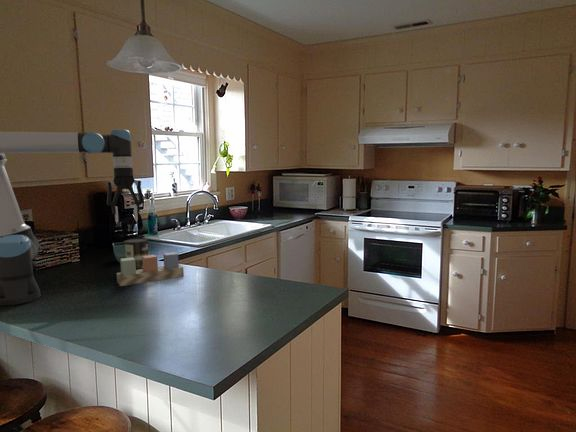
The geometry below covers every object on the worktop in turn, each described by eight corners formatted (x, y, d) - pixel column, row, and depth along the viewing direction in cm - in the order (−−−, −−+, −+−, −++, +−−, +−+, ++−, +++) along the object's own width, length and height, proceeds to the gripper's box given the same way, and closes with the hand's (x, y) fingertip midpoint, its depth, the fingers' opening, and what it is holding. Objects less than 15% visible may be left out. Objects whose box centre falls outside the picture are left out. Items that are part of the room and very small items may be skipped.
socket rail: (120, 286, 178) (119, 276, 178) (117, 282, 184) (116, 273, 184) (183, 276, 192) (183, 267, 191) (178, 272, 198) (178, 264, 197)
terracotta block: (146, 274, 184) (145, 258, 184) (143, 272, 189) (142, 256, 188) (158, 272, 187) (157, 256, 186) (155, 270, 191) (154, 254, 190)
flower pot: (113, 260, 226) (112, 243, 225) (131, 258, 230) (130, 241, 229) (114, 263, 218) (113, 245, 217) (133, 261, 222) (132, 244, 221)
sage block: (123, 277, 180) (122, 261, 179) (121, 275, 184) (120, 258, 183) (136, 275, 182) (135, 259, 181) (133, 273, 187) (132, 257, 186)
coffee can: (152, 267, 210) (150, 238, 208) (145, 272, 199) (143, 242, 198) (131, 267, 210) (129, 238, 208) (122, 273, 200) (120, 242, 198)
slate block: (167, 271, 189) (166, 255, 188) (164, 268, 193) (163, 253, 192) (178, 269, 192) (178, 253, 191) (175, 267, 196) (174, 251, 195)
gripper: (98, 167, 176) (102, 224, 179) (149, 166, 186) (152, 219, 189) (95, 167, 182) (100, 222, 185) (145, 166, 193) (148, 218, 196)
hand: (126, 221), depth 187 cm, fingers open, 7 cm apart
